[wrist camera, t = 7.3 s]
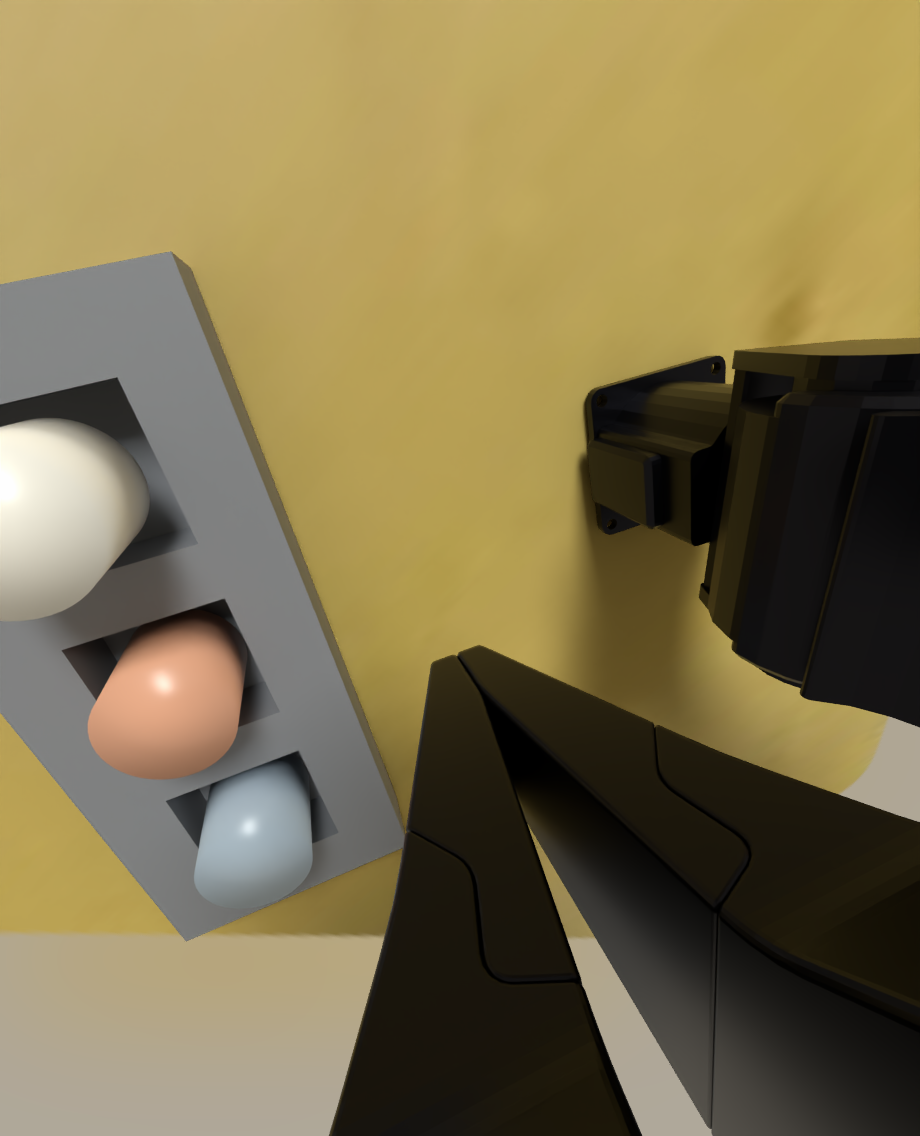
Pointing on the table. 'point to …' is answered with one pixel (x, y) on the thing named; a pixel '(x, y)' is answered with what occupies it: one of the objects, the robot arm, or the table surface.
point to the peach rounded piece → (172, 697)
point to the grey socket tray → (179, 581)
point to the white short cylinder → (62, 513)
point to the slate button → (256, 835)
